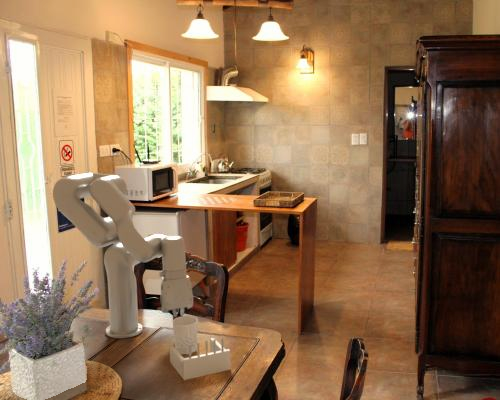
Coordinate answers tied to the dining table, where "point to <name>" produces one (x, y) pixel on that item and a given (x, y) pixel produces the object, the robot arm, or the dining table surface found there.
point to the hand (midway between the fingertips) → (178, 326)
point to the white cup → (185, 334)
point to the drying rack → (201, 360)
